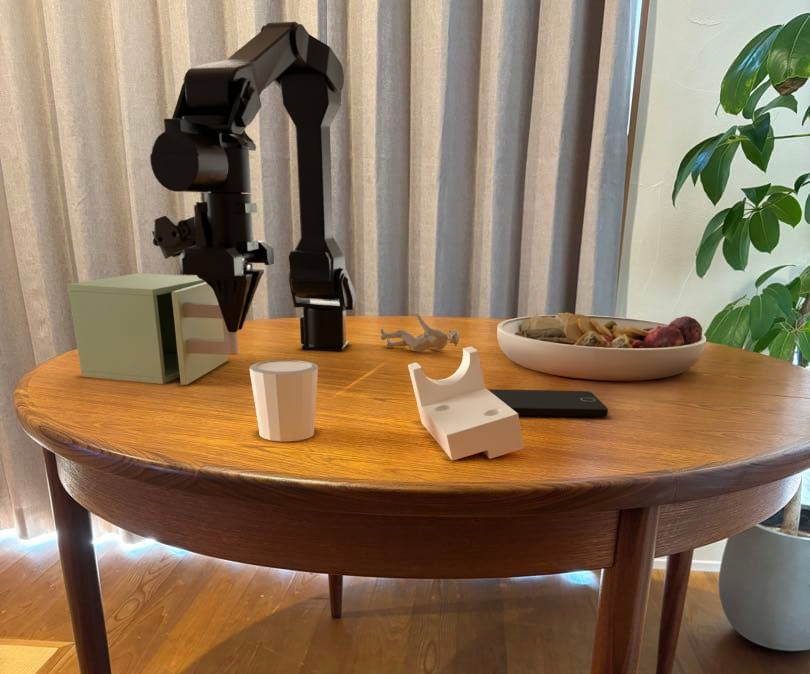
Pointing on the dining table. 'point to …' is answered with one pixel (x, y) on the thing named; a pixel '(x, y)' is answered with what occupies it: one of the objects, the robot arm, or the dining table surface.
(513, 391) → the cell phone
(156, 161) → the robot arm
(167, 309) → the cupboard
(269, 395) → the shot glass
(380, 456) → the dining table surface
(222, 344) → the cupboard door
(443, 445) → the bracket
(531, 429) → the dining table surface
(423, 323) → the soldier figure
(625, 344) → the bowl
